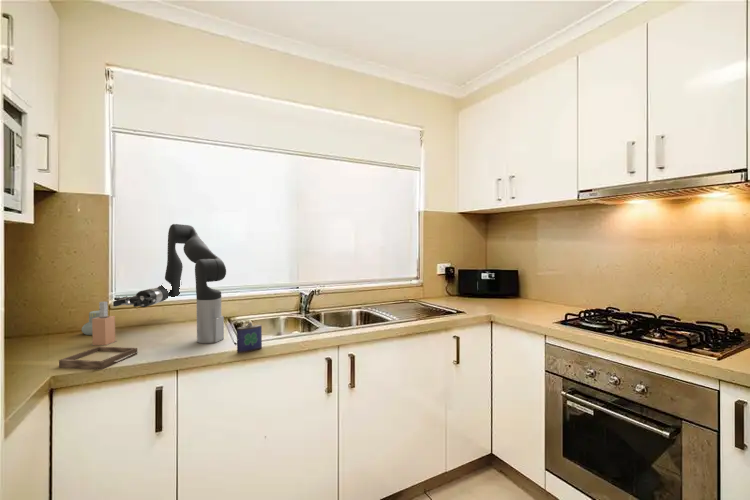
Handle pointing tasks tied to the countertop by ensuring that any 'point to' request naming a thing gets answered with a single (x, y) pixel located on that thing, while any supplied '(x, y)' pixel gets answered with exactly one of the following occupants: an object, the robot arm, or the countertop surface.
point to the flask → (249, 338)
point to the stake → (103, 312)
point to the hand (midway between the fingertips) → (124, 304)
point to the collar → (103, 330)
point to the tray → (86, 364)
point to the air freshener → (90, 323)
